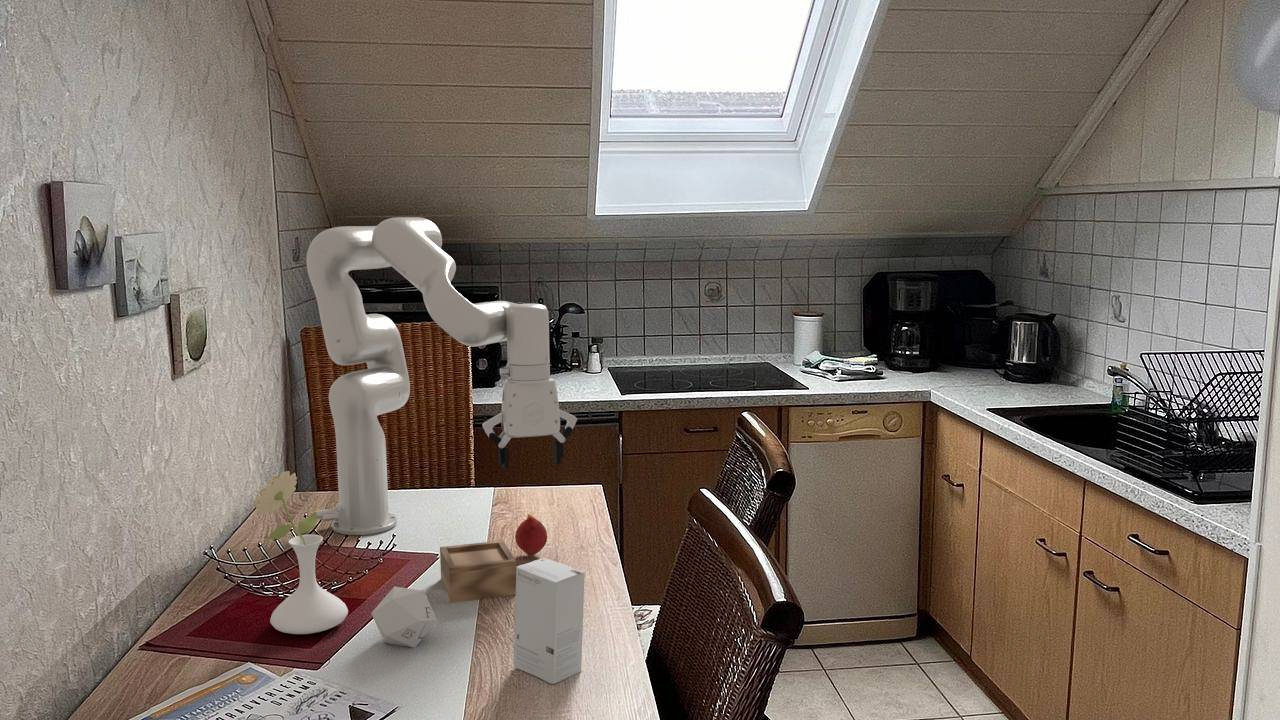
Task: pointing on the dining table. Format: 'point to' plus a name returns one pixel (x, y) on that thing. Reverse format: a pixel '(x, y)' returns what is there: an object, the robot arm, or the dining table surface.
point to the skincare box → (548, 620)
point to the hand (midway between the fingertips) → (531, 465)
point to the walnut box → (478, 571)
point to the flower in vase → (300, 568)
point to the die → (404, 616)
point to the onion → (531, 536)
